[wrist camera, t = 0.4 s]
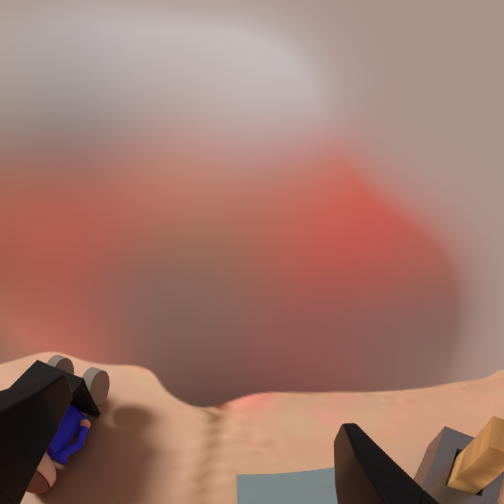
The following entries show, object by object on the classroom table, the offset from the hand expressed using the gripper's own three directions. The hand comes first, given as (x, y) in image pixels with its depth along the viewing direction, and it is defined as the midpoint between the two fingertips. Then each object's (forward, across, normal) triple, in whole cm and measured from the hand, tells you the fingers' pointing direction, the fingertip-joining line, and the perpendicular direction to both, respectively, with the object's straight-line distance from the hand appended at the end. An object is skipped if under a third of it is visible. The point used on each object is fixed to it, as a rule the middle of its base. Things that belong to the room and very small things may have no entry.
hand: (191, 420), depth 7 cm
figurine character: (+6, +15, +16) cm, 23 cm away
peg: (+4, -22, +16) cm, 28 cm away
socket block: (+3, -22, +16) cm, 27 cm away
